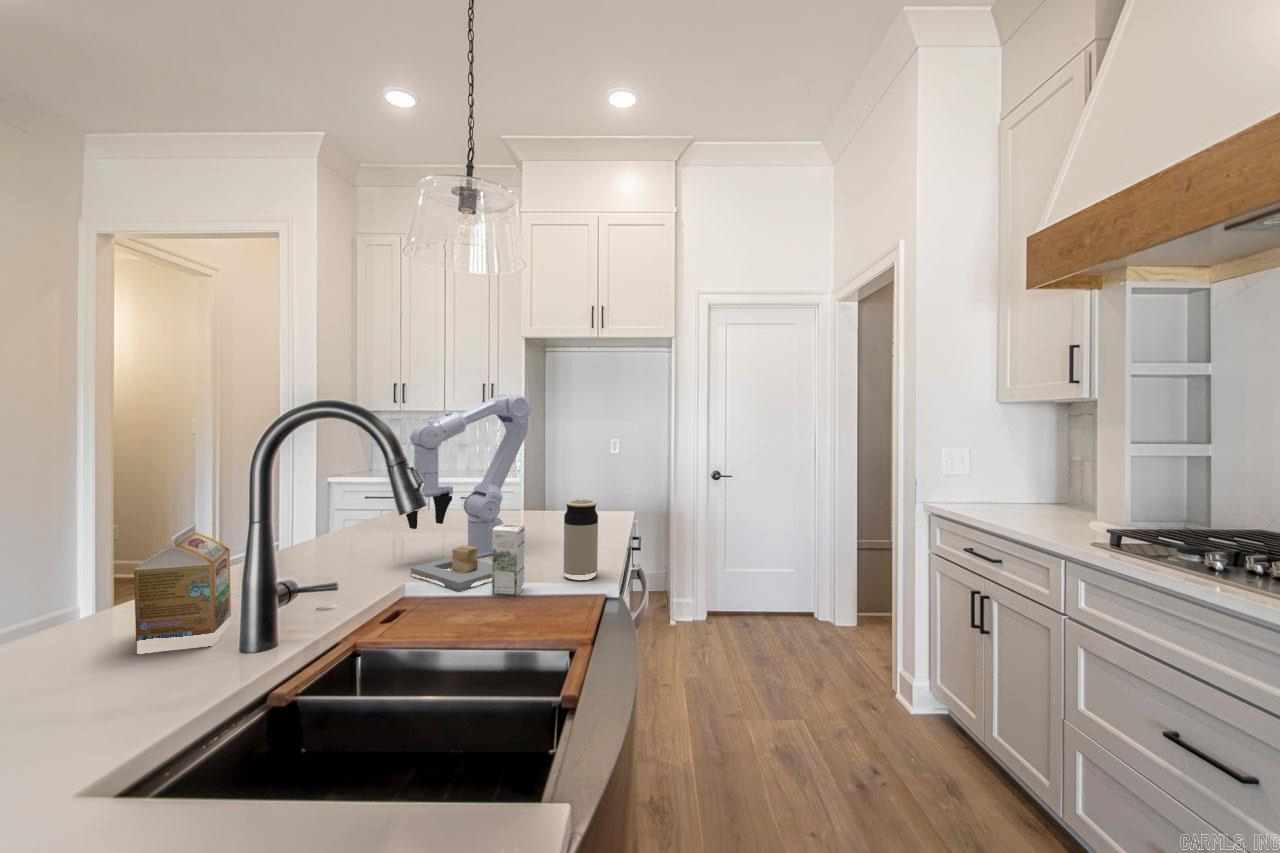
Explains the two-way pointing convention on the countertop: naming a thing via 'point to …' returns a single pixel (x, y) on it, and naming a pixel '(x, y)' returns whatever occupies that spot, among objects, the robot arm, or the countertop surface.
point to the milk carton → (183, 588)
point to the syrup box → (508, 559)
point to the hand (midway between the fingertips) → (426, 525)
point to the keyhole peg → (464, 559)
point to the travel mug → (580, 537)
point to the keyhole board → (453, 574)
